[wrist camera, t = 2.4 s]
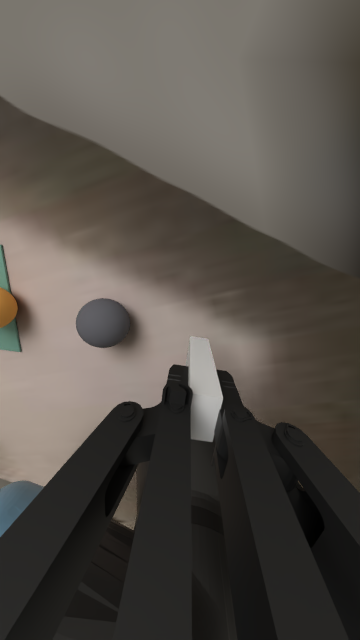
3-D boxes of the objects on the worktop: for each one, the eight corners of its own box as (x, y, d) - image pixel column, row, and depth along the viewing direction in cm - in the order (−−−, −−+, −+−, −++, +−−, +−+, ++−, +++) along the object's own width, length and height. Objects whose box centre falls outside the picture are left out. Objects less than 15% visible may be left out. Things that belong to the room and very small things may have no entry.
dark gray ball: (135, 338, 22) (118, 360, 17) (94, 333, 22) (65, 353, 17) (137, 298, 20) (119, 307, 15) (93, 292, 21) (60, 300, 15)
